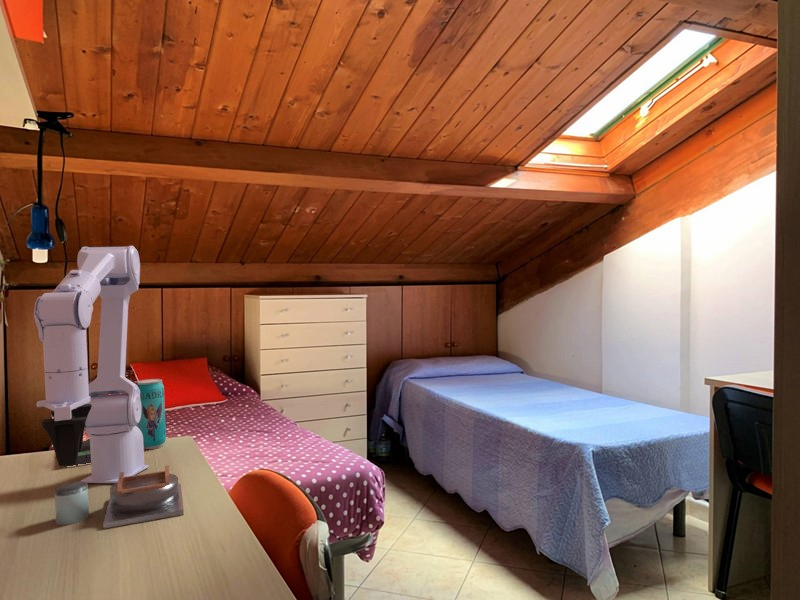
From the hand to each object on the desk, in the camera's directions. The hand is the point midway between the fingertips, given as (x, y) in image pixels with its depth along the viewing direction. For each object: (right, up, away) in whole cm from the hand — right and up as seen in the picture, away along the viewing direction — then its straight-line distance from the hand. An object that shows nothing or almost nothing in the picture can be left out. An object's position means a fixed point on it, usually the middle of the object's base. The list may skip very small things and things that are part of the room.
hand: (70, 458), depth 86 cm
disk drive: (-16, -10, +35) cm, 40 cm away
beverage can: (-5, -9, +40) cm, 42 cm away
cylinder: (0, -10, 0) cm, 10 cm away
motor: (+10, -9, +4) cm, 14 cm away
